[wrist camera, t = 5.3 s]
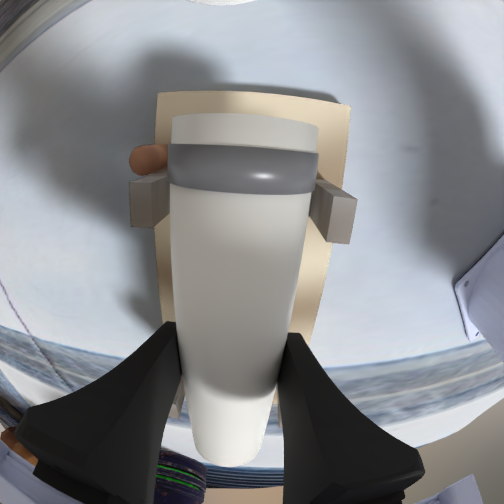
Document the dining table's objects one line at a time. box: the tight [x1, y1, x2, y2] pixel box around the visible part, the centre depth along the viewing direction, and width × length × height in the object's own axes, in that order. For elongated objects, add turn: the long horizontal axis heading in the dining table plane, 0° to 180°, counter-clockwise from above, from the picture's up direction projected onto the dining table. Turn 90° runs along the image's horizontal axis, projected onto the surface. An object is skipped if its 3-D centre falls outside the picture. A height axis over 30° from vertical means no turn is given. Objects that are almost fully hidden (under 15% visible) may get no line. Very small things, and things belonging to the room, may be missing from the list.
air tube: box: [167, 113, 319, 467], centre depth 10 cm, size 16×4×4 cm, turn 176°
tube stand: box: [129, 91, 358, 428], centre depth 13 cm, size 20×9×6 cm, turn 175°
